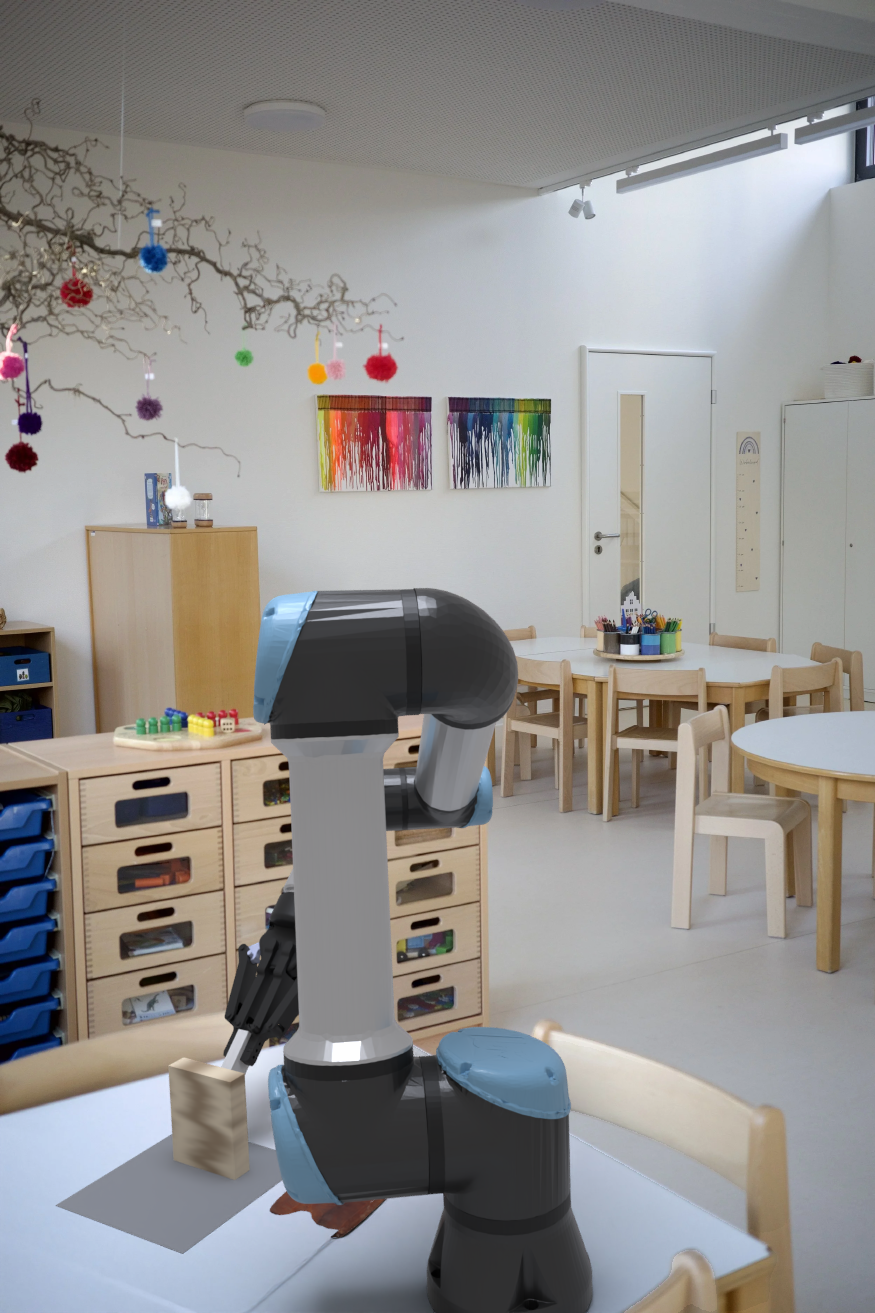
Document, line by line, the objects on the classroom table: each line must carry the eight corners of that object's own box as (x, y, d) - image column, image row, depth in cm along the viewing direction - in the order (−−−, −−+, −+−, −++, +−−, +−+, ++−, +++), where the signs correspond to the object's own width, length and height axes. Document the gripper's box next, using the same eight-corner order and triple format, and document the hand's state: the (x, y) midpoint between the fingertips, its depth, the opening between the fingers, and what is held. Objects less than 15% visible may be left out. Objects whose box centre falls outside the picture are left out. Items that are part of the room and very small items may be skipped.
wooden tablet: (345, 1248, 118) (344, 1232, 118) (261, 1224, 123) (260, 1209, 122) (462, 1127, 142) (461, 1113, 142) (388, 1111, 146) (388, 1097, 146)
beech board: (250, 1169, 131) (245, 1073, 130) (235, 1180, 129) (229, 1082, 128) (189, 1150, 136) (183, 1057, 135) (173, 1160, 134) (168, 1065, 133)
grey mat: (309, 1165, 133) (309, 1160, 133) (183, 1259, 116) (182, 1253, 116) (188, 1128, 142) (188, 1123, 142) (55, 1211, 125) (55, 1205, 125)
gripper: (366, 926, 146) (285, 1115, 133) (282, 912, 153) (199, 1090, 140) (338, 895, 141) (252, 1088, 129) (253, 882, 148) (164, 1064, 135)
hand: (224, 1089), depth 134 cm, fingers closed
